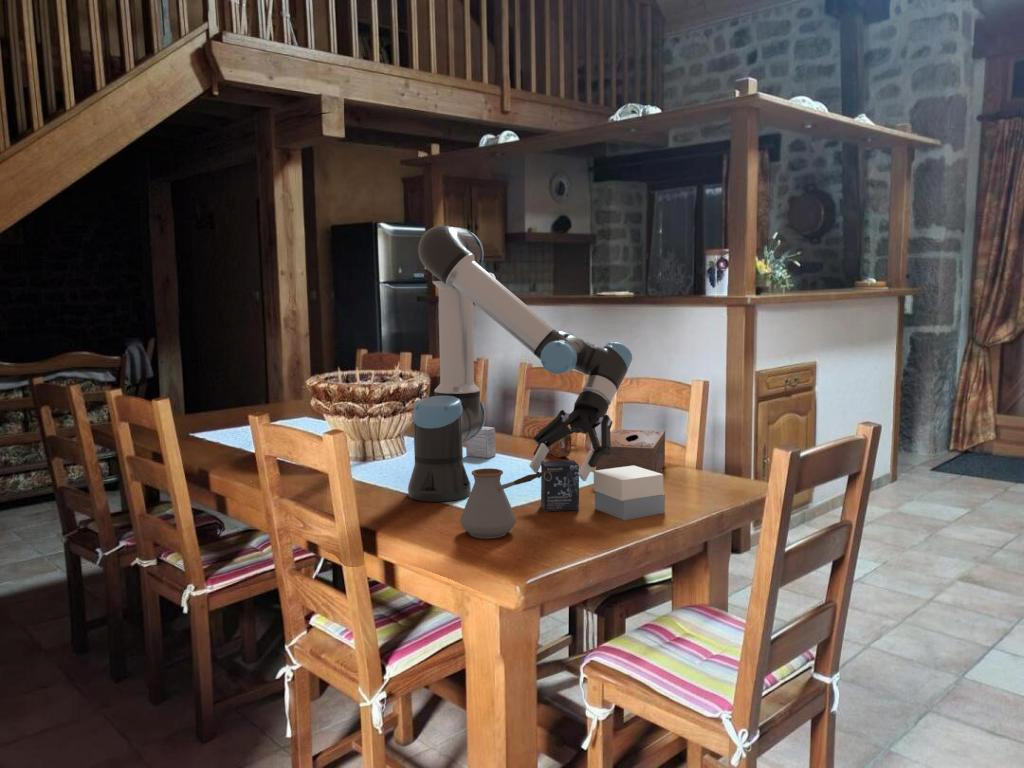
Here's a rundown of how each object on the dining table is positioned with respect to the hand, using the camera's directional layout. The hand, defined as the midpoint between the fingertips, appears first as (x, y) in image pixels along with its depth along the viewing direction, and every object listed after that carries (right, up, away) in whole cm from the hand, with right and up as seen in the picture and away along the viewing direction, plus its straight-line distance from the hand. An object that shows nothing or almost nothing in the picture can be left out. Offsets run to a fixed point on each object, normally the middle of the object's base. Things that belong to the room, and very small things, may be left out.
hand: (556, 473), depth 187 cm
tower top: (+16, -4, -1) cm, 16 cm away
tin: (+4, -1, +62) cm, 62 cm away
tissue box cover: (+22, -4, +36) cm, 42 cm away
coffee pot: (-11, -11, -19) cm, 25 cm away
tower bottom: (+16, -9, -1) cm, 18 cm away
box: (+1, -8, +2) cm, 9 cm away
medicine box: (-19, -2, +62) cm, 65 cm away
